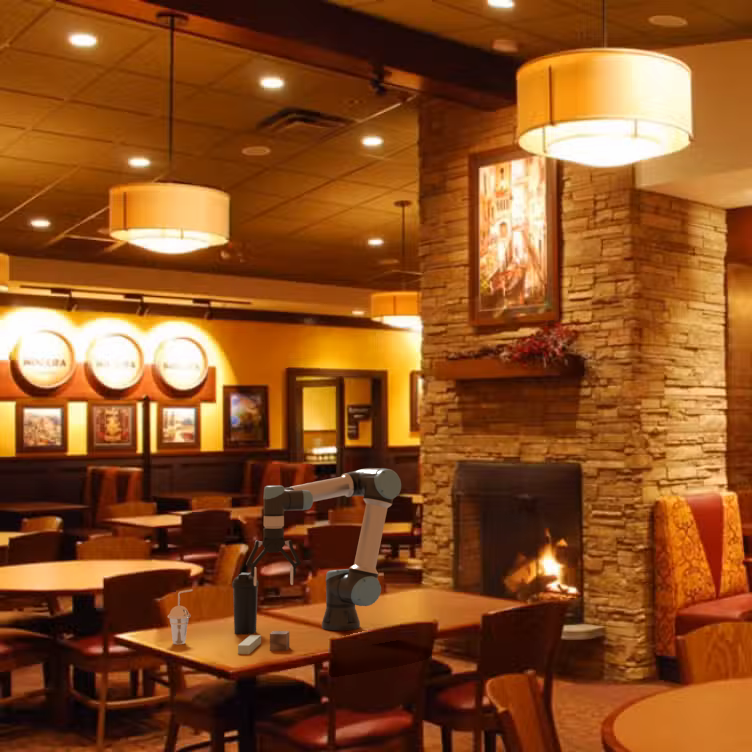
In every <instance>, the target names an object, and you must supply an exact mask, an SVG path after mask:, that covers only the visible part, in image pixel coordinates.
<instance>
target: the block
mask: <svg viewBox="0 0 752 752" xmlns="http://www.w3.org/2000/svg"><path fill="white" fill-rule="evenodd" d="M289 649H290V630H273V631H271V632H270V633H269V651H272V652H276V651H277V652H280V651H281V652H286V651H288V650H289Z"/></svg>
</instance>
